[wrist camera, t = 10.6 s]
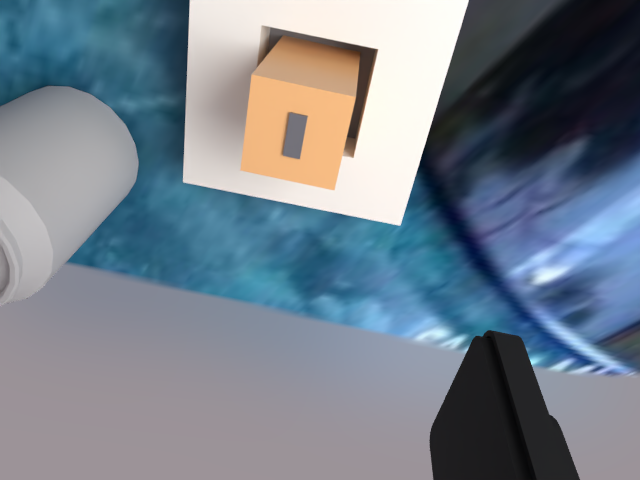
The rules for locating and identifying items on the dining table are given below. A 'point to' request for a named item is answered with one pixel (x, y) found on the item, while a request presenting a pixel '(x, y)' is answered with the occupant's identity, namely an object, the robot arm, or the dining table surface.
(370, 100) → the outlet plate
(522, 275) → the dining table surface
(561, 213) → the dining table surface
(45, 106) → the can
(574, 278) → the dining table surface
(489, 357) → the robot arm
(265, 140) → the charger
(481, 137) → the dining table surface
